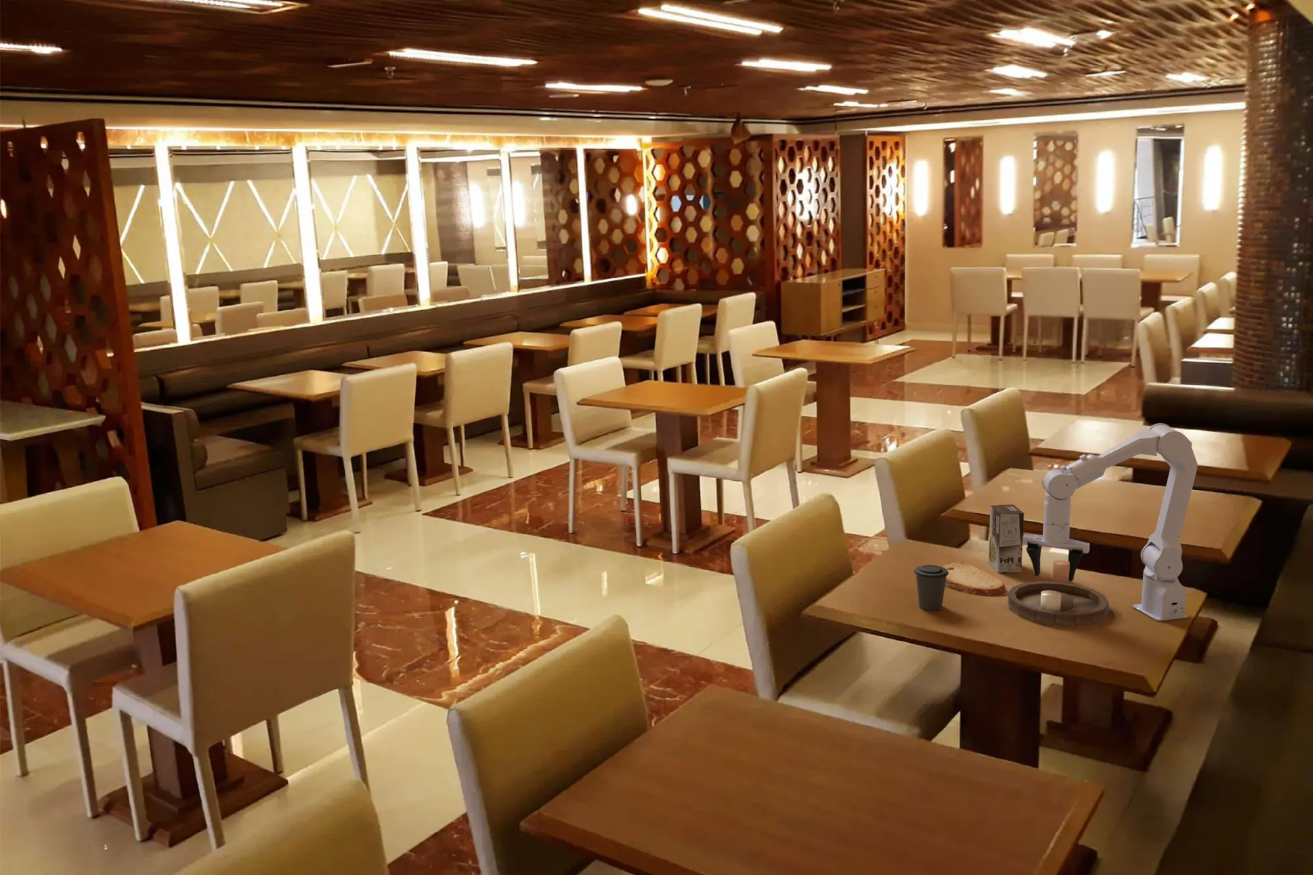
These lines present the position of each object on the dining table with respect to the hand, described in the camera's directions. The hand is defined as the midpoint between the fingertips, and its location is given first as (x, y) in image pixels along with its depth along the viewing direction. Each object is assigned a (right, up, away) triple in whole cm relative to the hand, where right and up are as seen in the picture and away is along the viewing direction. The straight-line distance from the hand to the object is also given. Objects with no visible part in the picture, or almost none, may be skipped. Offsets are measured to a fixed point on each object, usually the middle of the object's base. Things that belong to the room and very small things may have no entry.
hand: (1054, 577), depth 250 cm
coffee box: (-1, -2, +33) cm, 33 cm away
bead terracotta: (+10, -4, +21) cm, 23 cm away
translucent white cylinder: (-2, -8, -2) cm, 9 cm away
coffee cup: (-27, -8, +7) cm, 29 cm away
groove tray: (+2, -8, +3) cm, 9 cm away
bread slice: (-14, -5, +22) cm, 27 cm away
